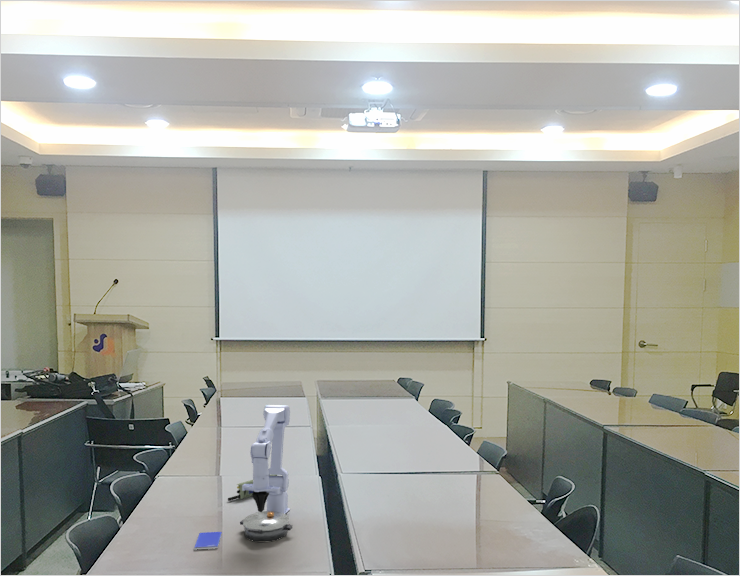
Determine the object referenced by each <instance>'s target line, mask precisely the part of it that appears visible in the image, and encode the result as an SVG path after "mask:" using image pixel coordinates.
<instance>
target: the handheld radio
mask: <svg viewBox="0 0 740 576" xmlns="http://www.w3.org/2000/svg"><path fill="white" fill-rule="evenodd" d="M269 476H278V475H269ZM244 484H253V479H250V480H247V481H244V482H240V483H237V484H236V486H237V487H236V488H237V489H238V490H237V491H236V493H237V495H235V496H231V497H228V498H227V501H228V502H230V501H231V502H232V501H233V500H236V499H240V500H243V499H246V498H250V497H252V494H253V491H248V490H245V491H242V485H244Z"/></svg>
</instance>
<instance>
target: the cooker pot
mask: <svg viewBox="0 0 740 576" xmlns="http://www.w3.org/2000/svg"><path fill="white" fill-rule="evenodd" d="M243 520H244V519H241V520H240V522H239V524H240V525H241V526H243ZM243 527H244V526H243ZM292 529H293V524H292V525H291V524H287V525H286V526H284V527H282V528H280V529H277V530H273V531H266V532H262V533H253V532H248V529H246V528H245V527H244V534H245V535H244V537H245V539H247V538H248V539H250V540H249V541H251V540H253V541H252V542H255V541H271V542H273V541H272V540H275V541H278V540H280V539H279V538H281V537H283V536H284V537H286V536H287V534H288V531H291V530H292ZM284 537H283V538H284ZM248 539H247V540H248ZM277 539H278V540H277ZM281 539H282V538H281Z"/></svg>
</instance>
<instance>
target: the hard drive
mask: <svg viewBox="0 0 740 576" xmlns="http://www.w3.org/2000/svg"><path fill="white" fill-rule="evenodd" d="M221 534H222V531H207V532H206V531H205V532H200V533H198V537H197V539H196V542H195V544H194V547H193V551H198V550H197V549H208V550H216V549H215V548H218V549H219V546H218V545H220V542H221V539H220V538H222V535H221ZM211 548H213V549H211Z"/></svg>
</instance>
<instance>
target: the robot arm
mask: <svg viewBox="0 0 740 576" xmlns="http://www.w3.org/2000/svg"><path fill="white" fill-rule="evenodd" d="M262 414H263V419H264V425H263V427H262V428H261V429H260V430H259V433H258V435H257V438H256V440H255V442H254V443H252V444H251V445H250V451H249V452H250V460H251V464H252V480H253V484H244V485H242V491H245V490H248V491H253V494H252V496H251V497H252V498H253V500H254V502H255V505H256V507H257V511H258V512H263V511H265V505H266V511H276V512H281V513H284V514H286V515H287V513H288V512H289V511H290V510H291V508H290V507H288V505H289V503H288V502H289V498H288V497H289V495H288V492H287V491H288V489H289V481H290V479H289V473H288V471H287V470H286V469H285V468H284V467H283V453H284V438H285V437H284V436H285V429H286V427H287V426H289V425H290V419H291V418H290V417H291V410H290V406H289V405H288V404H286V405H285V404H284V405H283V404H282V405H281V404H265V406H264V407H263V413H262ZM269 459H270V464H269ZM269 465H270V467H269ZM269 475H277V476H269Z"/></svg>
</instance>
